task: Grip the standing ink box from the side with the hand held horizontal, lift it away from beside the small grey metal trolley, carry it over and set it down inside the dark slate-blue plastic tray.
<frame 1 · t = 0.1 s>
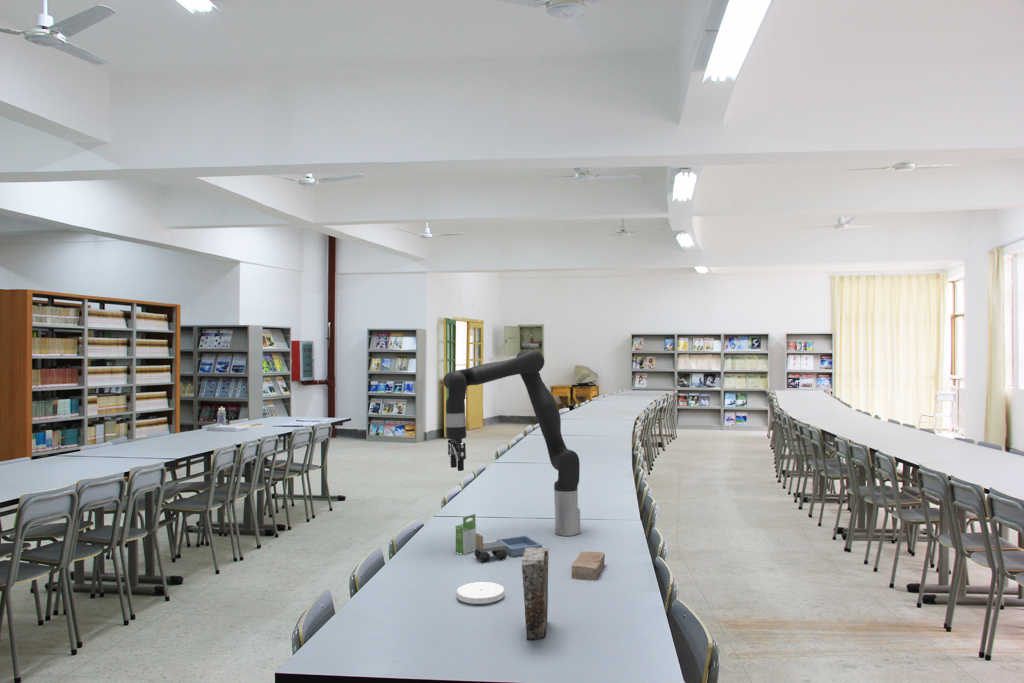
hand: (457, 469, 256), 29 cm above the table, tool pointing down, fingers open, 8 cm apart
brick: (588, 573, 225), on the table
plastic lid: (480, 599, 204), on the table
trolley: (490, 558, 241), on the table
ink box: (466, 552, 250), on the table
tray: (519, 550, 251), on the table
stone block: (537, 631, 179), on the table
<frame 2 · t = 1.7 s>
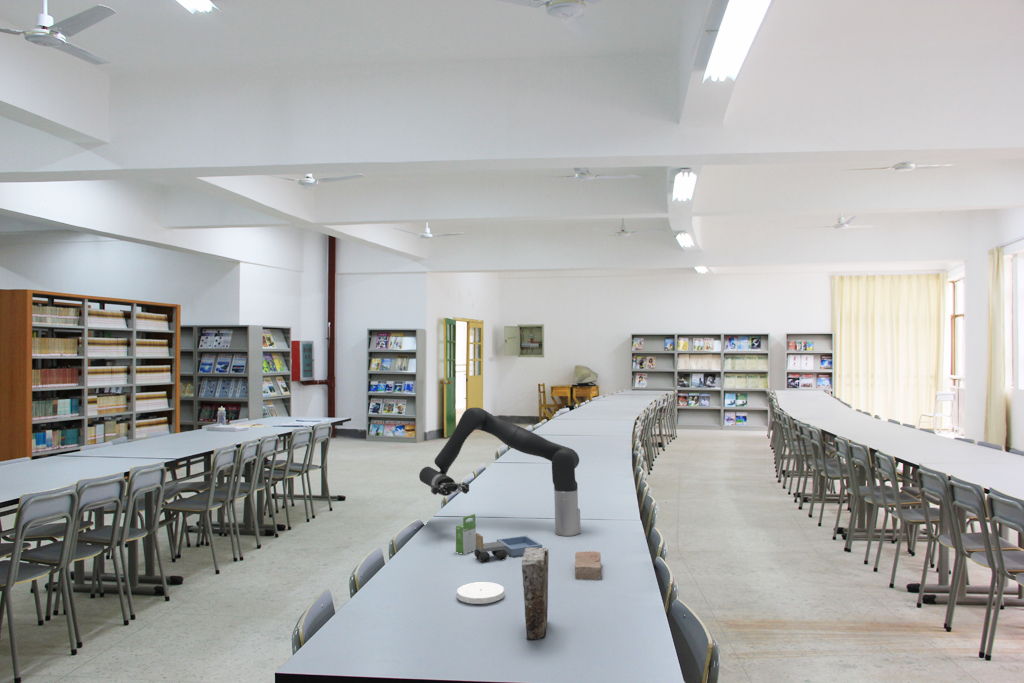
hand: (455, 491, 261), 20 cm above the table, tool horizontal, fingers open, 8 cm apart
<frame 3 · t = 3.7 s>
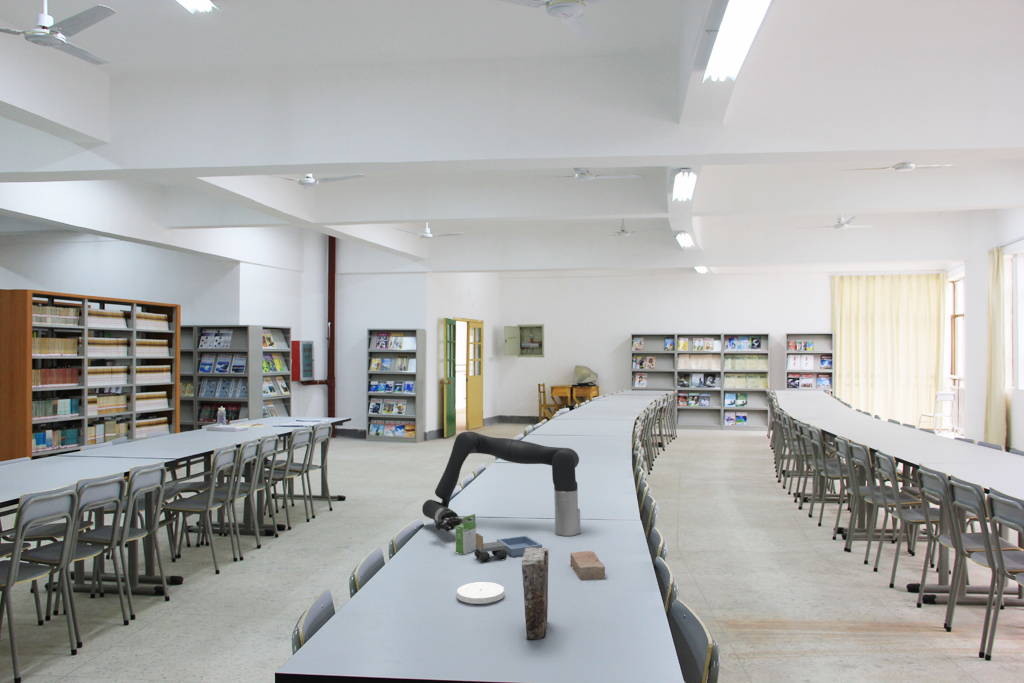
hand: (459, 527, 258), 7 cm above the table, tool horizontal, fingers open, 8 cm apart
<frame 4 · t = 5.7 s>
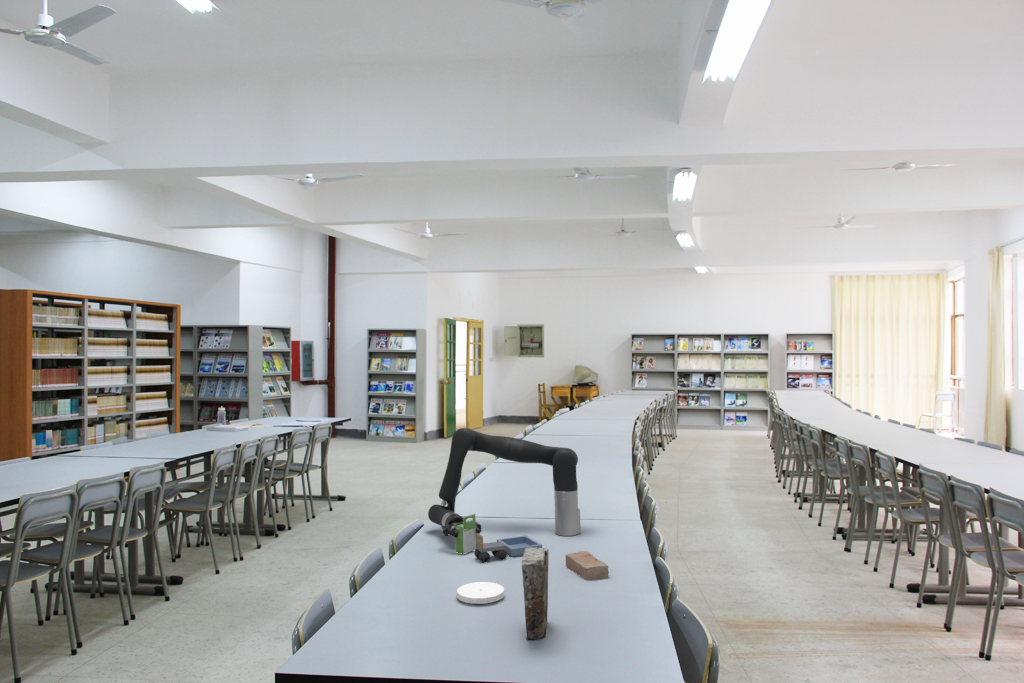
hand: (467, 533, 249), 7 cm above the table, tool horizontal, fingers closed on ink box, 8 cm apart
ink box: (466, 552, 250), on the table, touching gripper
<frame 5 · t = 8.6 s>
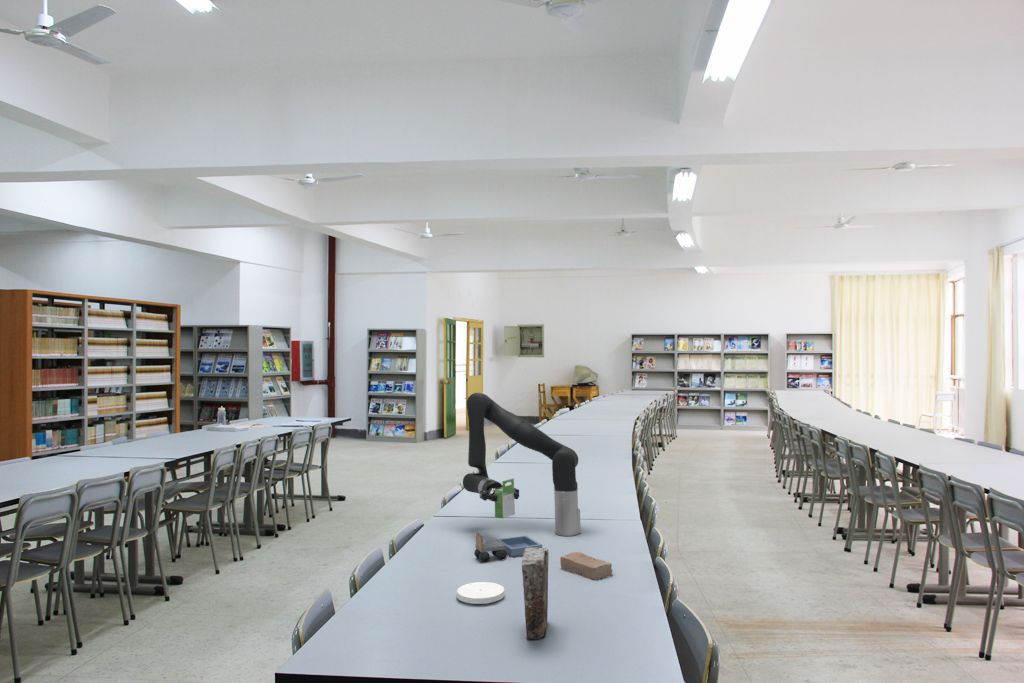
hand: (506, 497, 249), 20 cm above the table, tool horizontal, fingers closed on ink box, 8 cm apart
ink box: (505, 516, 251), point 12 cm above the table, touching gripper
when the fingers open (9 cm above the table, at t = 11.8 s): ink box stays where it is, resting on tray.
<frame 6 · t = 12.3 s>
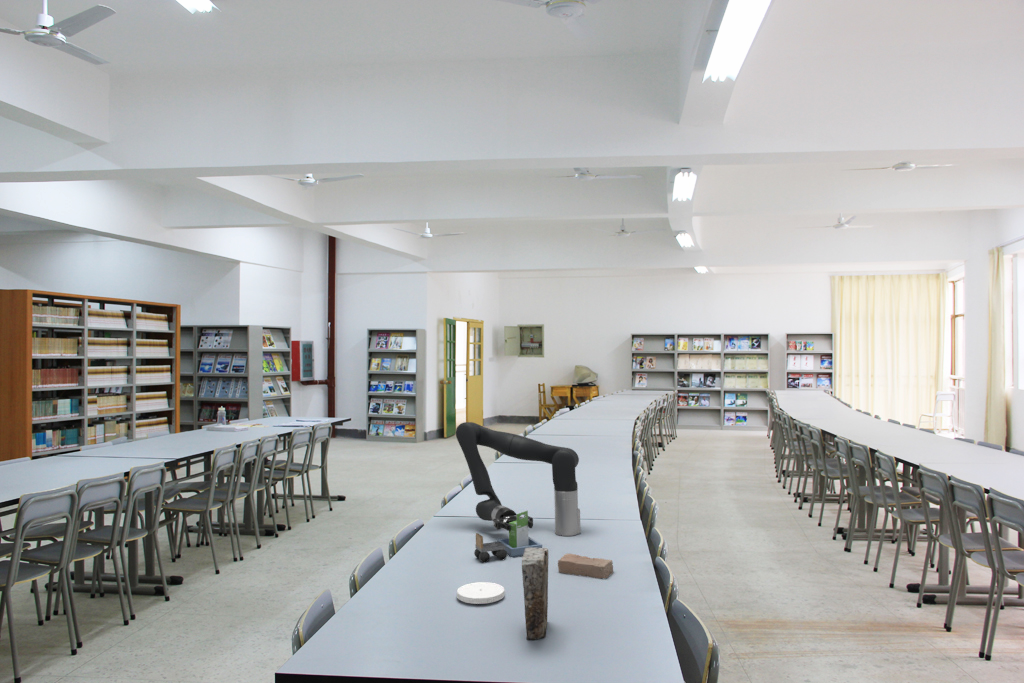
hand: (520, 526, 249), 9 cm above the table, tool horizontal, fingers open, 8 cm apart
ink box: (519, 549, 251), resting on tray
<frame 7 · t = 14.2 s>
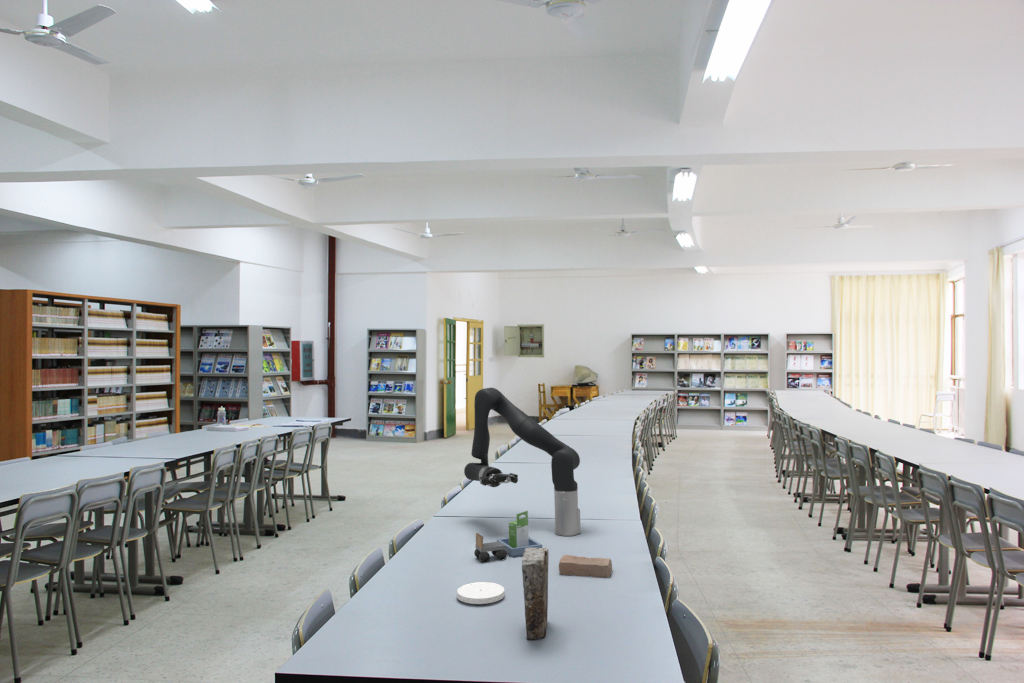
hand: (505, 481, 263), 23 cm above the table, tool horizontal, fingers open, 8 cm apart
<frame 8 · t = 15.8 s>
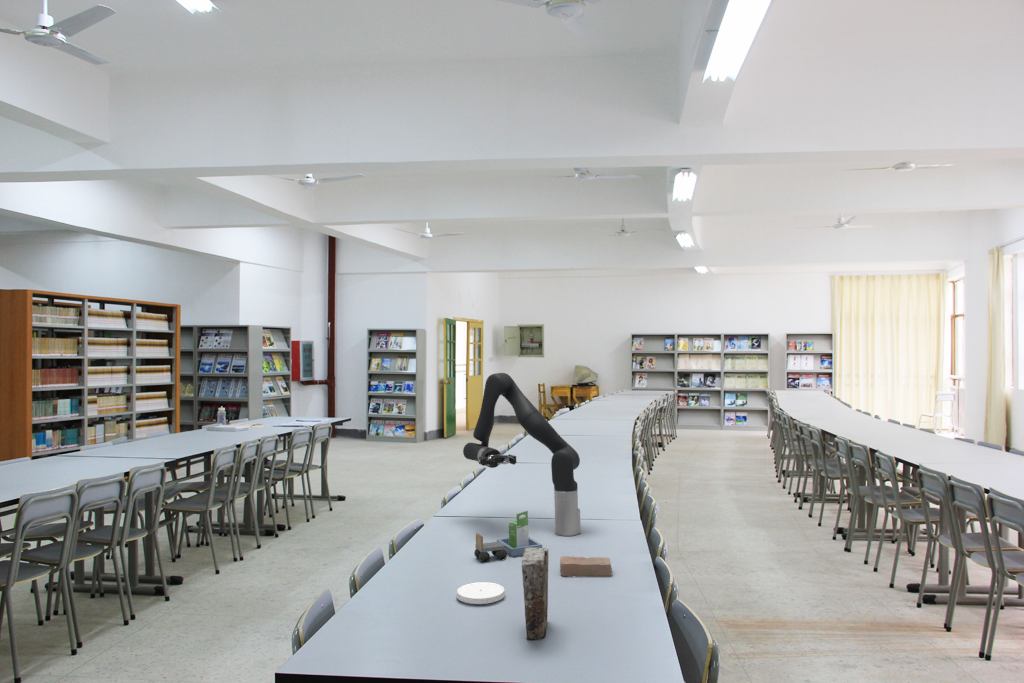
hand: (504, 462, 263), 30 cm above the table, tool horizontal, fingers open, 8 cm apart
at the end: ink box inside the target area on the tray (0.2 cm from its centre), point 0.4 cm above the tray's base; the gripper is holding nothing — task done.
